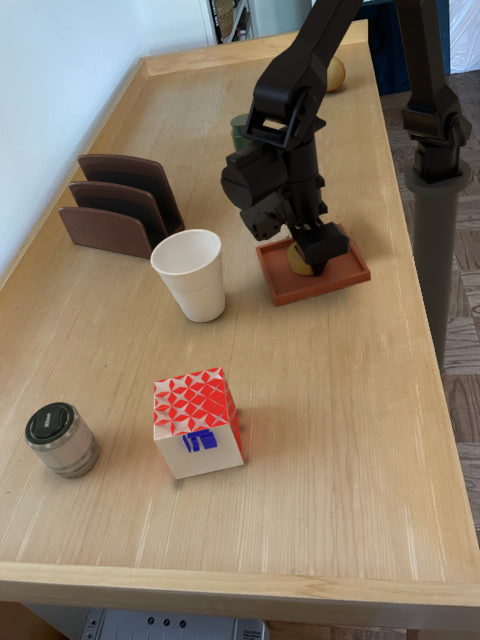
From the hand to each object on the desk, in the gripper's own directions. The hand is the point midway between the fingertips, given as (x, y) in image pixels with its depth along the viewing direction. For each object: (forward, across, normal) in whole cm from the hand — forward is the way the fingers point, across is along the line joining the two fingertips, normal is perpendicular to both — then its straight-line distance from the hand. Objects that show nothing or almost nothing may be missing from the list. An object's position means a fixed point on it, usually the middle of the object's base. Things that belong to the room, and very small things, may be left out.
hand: (310, 263), depth 81 cm
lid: (-2, 0, 0) cm, 2 cm away
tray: (+1, 0, 0) cm, 1 cm away
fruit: (+1, -59, +27) cm, 65 cm away
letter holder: (+1, -25, -26) cm, 36 cm away
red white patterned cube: (+1, +24, -22) cm, 33 cm away
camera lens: (+1, +20, -38) cm, 43 cm away
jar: (+1, -34, +1) cm, 34 cm away
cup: (+1, +2, -17) cm, 17 cm away
